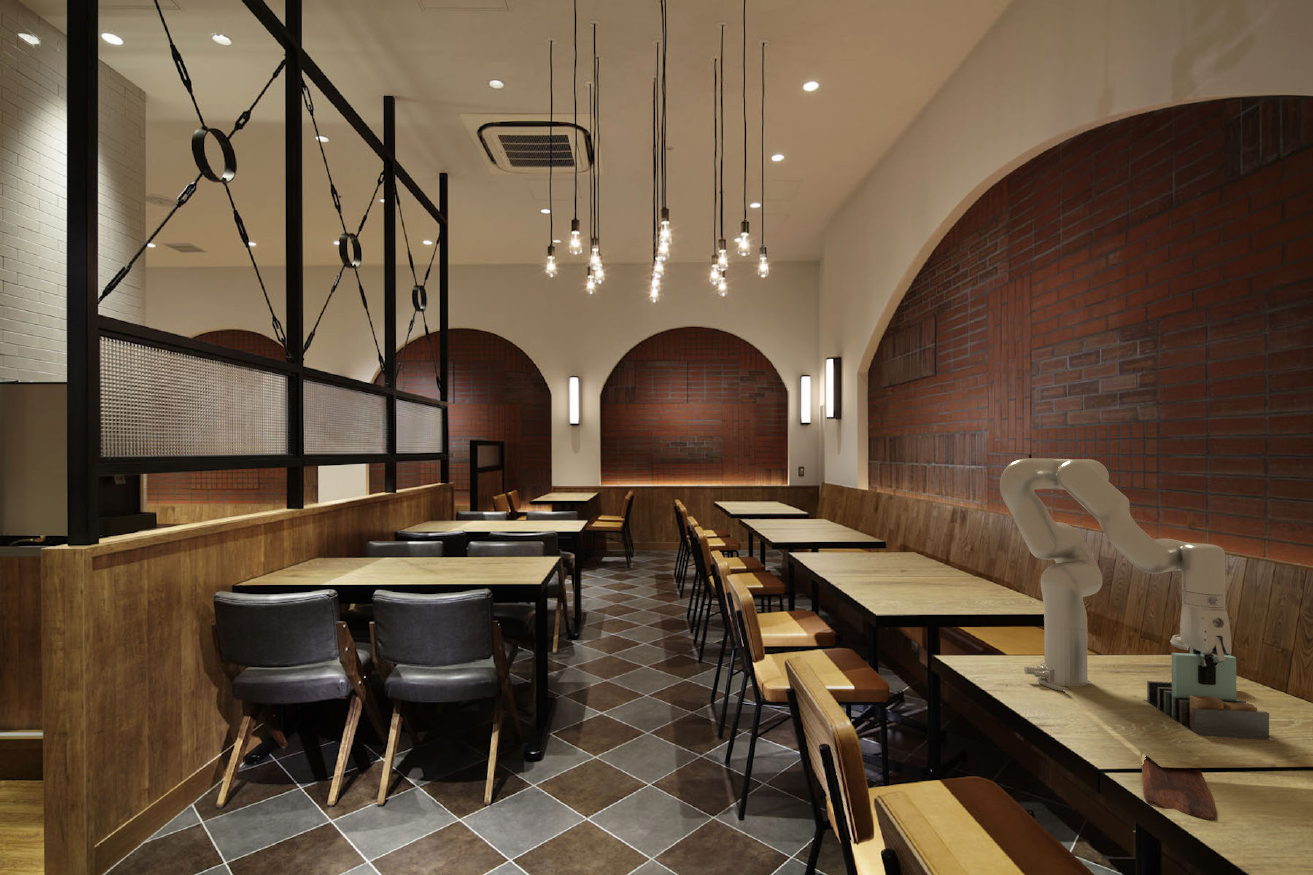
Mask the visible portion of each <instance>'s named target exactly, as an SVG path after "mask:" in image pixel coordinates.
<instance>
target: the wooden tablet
mask: <svg viewBox="0 0 1313 875" xmlns="http://www.w3.org/2000/svg"><path fill="white" fill-rule="evenodd" d="M1145 758H1146V759H1145V760H1144V764H1143V765H1141V780H1142V787H1143V788H1142V791H1143V797H1144V799H1145V802H1146V804H1148V805H1150V806H1153V807H1157V808H1161V809H1166V810H1176V811H1178V812H1180V813H1183V814H1184V815H1188V816H1191V817H1195V818H1198V819H1202V820H1208V821H1214V820H1215V819H1216V818H1217V809H1216V805H1215V802H1214V799H1213V796H1212V793H1211V791H1210V788H1209V786H1208V784H1207V781H1206V779H1205V777H1204V776H1203V775H1204V774H1203V773H1202V771H1201V769H1196V768H1195V769H1194V768H1183V767H1182V768H1181V767H1180V768H1179V767H1165V766H1160V765H1159V764H1158V763H1157V762H1156V761H1154V760H1153V759H1151V757H1149V756H1148V755H1147V756H1146V757H1145Z"/></svg>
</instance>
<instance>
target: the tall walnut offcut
mask: <svg viewBox="0 0 1313 875" xmlns="http://www.w3.org/2000/svg"><path fill="white" fill-rule="evenodd" d="M1192 708H1208V709H1223V701H1222V700H1220V699H1218V698H1216V697H1206V696H1190V726H1191V727H1192Z"/></svg>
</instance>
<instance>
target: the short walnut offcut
mask: <svg viewBox="0 0 1313 875" xmlns="http://www.w3.org/2000/svg"><path fill="white" fill-rule="evenodd" d="M1250 704H1251V703H1247V702H1246V703H1231V702H1223V709H1226V710H1244V711H1258V707H1256V706H1255V705H1253V704H1252V705H1253V706H1252V705H1250Z"/></svg>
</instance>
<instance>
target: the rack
mask: <svg viewBox="0 0 1313 875" xmlns="http://www.w3.org/2000/svg"><path fill="white" fill-rule="evenodd" d="M1146 682H1147V683H1146V684H1147V686H1146V687H1147V690H1146V692H1147V699H1143V701H1144V702H1147V703H1148V704H1149V705H1150V706H1152V707H1153V708H1156V709H1157V710H1158V711H1160V712H1161V713H1163V714H1164V715H1166V716H1168V717H1169V718H1171V719H1172V720H1174V721H1175V722H1177V723H1178V724H1180V725H1182V726H1183V727H1185V728H1187V730H1189V731H1191V732H1192V733H1194V734H1195V735H1197V736H1198V737H1207V738H1209V737H1211V738H1223V739H1224V738H1227V739H1241V740H1242V739H1243V740H1258V741H1259V740H1260V741H1275V739H1274V738H1271V737H1270V713H1269V712H1268V711H1259V710H1257V711H1244V710H1226V709H1208V708H1192V727H1191V726H1190V697H1177V696H1173V716H1172V681H1157V680H1156V681H1153V680H1147V681H1146ZM1220 700H1222V701H1223V702H1231V703H1247V701H1246V700H1244V699H1236V700H1233V699H1220ZM1249 704H1250V705H1252V706H1254V705H1253V704H1252V703H1249Z"/></svg>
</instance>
